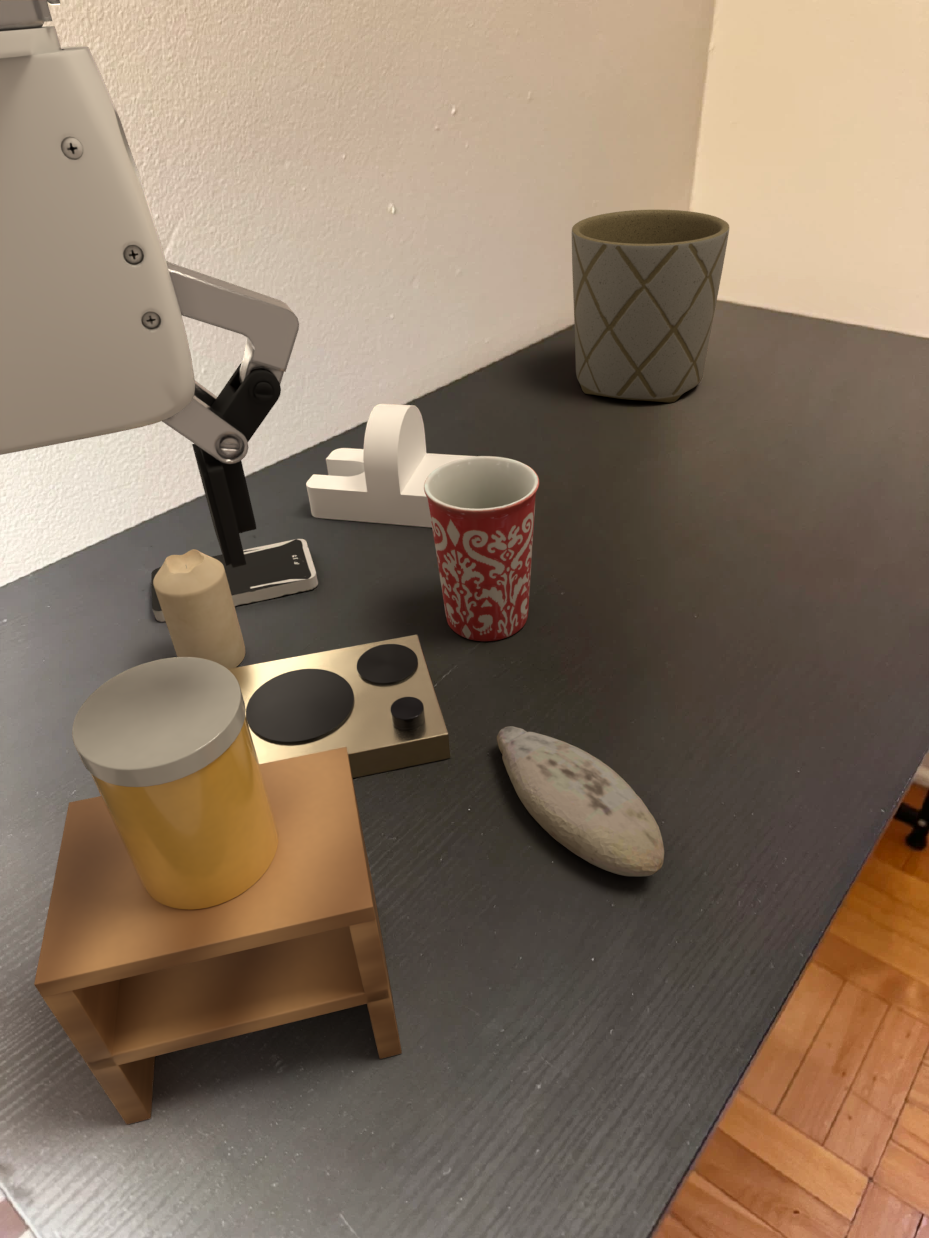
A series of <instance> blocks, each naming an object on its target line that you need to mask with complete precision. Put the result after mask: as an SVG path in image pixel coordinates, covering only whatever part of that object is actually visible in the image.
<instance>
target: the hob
mask: <svg viewBox="0 0 929 1238" xmlns="http://www.w3.org/2000/svg"><path fill="white" fill-rule="evenodd" d="M228 670H229V671H230V672H231V673H232V674H233V675H234V676H235V677H236V679H237V681H238V683H239V686H240V688H241V692H242V696H243V699H244V703H245V709H246V711H245V715H246V719H247V722H248V726H249V729H250V733H251V736H252V740H253V744H254V747H255V751H256V754H257V758H258V761H259V764H263V763H268V762H273V761H278V760H283V759H288V758H293V757H298V756H303V755H308V754H313V753H318V752H323V751H328V750H333V749H338V748H343V747H347V752H348V757H349V762H350V768H351V773H352V778H353V779H356V778H361V777H367V776H370V775H376V774H379V773H385V772H390V771H394V770H400V769H404V768H409V767H414V766H419V765H424V764H428V763H433V762H437V761H442V760H448V759H451V748H450V747H451V746H450V736H449V731H448V729H447V728H448V727H447V724H446V721H445V718H444V715H443V711H442V709H441V706H440V702H439V698H438V696H437V692H436V690H435V686H434V683H433V679H432V677H431V673H430V670H429V667H428V664H427V661H426V656H425V654H424V651H423V647H422V645H421V641H420V638H419V635H418V634H412V635H406V636H401V637H396V638H389V639H385V640H379V641H374V642H368V643H363V644H357V645H352V646H346V647H341V648H334V649H330V650H324V651H319V652H313V653H307V654H302V655H298V656H297V655H296V656H292V657H285V658H280V659H275V660H269V661H264V662H258V663H253V664H248V665H242V666H237V667H236V668H231V669H228Z"/></svg>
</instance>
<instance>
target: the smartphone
mask: <svg viewBox="0 0 929 1238" xmlns="http://www.w3.org/2000/svg"><path fill="white" fill-rule="evenodd" d="M243 552H244V556H245V560H246V565H243V566H239V567H235V568H232V565H227V566H226V564H225V561H224V558H223V555H222V554H217V555H213V556H211V557H212V558H215V559H217V560H218V561H220V562H221V563H222V564H223V566H224V569H225V573H226V577H227V580H228V584H229V588H230V592H231V595H232V599H233V603H234V607H239V606H243V605H247V604H252V603H257V602H260V601H261V602H262V601H266V600H269V599H274V598H280V597H284V596H288V595H289V596H290V595H292V594H297V593H303V592H307V591H312V590H314V589H316V588H317V587H318V585H319V580H318V576H317V571H316V567H315V564H314V562H313V561H314V560H313V558H312V554H311V551H310V548H309V546H308V543H307V540H306V539H303V538H295V539H290V540H285V541H281V542H276V543H270V544H266V545H261V546H257V547H256V546H255V547H250V548H247V549H243ZM161 567H162V566H159V567H157V568H155V569H153V570H152V571H151V574H150V576H151V580H150V581H151V582H150V583H151V609H152V612H153V615H154V618H155V619H156V621H157V622H160V623H166V621H165V618H164V615H163V612H162V609H161V606H160V603H159V600H158V597H157V594H156V591H155V588H154V584H153V580H154V577H155V575H156V574H157V572H158V571H159V570H160V568H161Z"/></svg>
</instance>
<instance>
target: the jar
mask: <svg viewBox="0 0 929 1238" xmlns="http://www.w3.org/2000/svg"><path fill="white" fill-rule="evenodd" d="M245 711H246V709H245V703H244V699H243V696H242V692H241V688H240V686H239V683H238V681H237V679H236V677H235V676H234V675H233V674H232V673H231V672H230V671H229V670H228V669H227V668H225V667H224V666H222V665H220V664H218V663H216V662H213V661H210V660H206V659H202V658H194V657H177V656H176V657H167V658H160V659H156V660H152V661H148V662H145V663H141V664H138V665H136V666H133V667H131V668H129V669H126V670H124V671H123V672H120V673H119V674H117V675H115V676H113V677H111V678H110V679H108V680H107V681H106V682H104V683H103V684H101V685H99V686H98V688H96V689H95V690H94V691H92V693H91V694H90V695H89V696H88V697H87V698H86V699H85V700H84V702H83V703H82V704H81V706H80V707H79V709H78V711H77V713H76V714H75V717H74V719H73V723H72V730H71V737H72V742H73V745H74V747H75V749H76V752H77V754H78V756H79V759H80V761H81V762H82V765H83V766H84V767H85V769H86V770H87V771H88V772H89V773H90V776H91V777H92V779H93V782H94V784H95V786H96V788H97V791H98V793H99V796H101V797H102V799H103V801H104V804H105V806H106V808H107V810H108V812H109V815H110V817H111V819H112V821H113V823H114V825H115V828H116V830H117V832H118V834H119V836H120V838H121V841H122V843H123V845H124V847H125V849H126V851H127V854H128V856H129V858H130V860H131V862H132V864H133V867H134V869H135V871H136V873H137V875H138V877H139V880H140V882H141V884H142V886H143V888H144V889H145V891H146V892H147V893H148V894H149V895H150V896H151V897H152V898H153V899H155V900H156V901H157V902H159V903H161V904H163V905H166V906H169V907H172V908H177V909H185V910H194V909H203V908H209V907H213V906H216V905H219V904H222V903H225V902H227V901H229V900H231V899H233V898H235V897H237V896H239V895H240V894H242V893H244V892H245V891H246V890H248V889H249V888H250V887H252V886H253V885H254V884H255V883H256V882H257V881H258V880H259V879H260V878H261V877H262V876H263V875H264V873H265V872H266V871H267V869H268V868H269V866H270V865H271V863H272V861H273V859H274V856H275V853H276V850H277V846H278V828H277V825H276V821H275V818H274V814H273V810H272V807H271V803H270V800H269V796H268V793H267V789H266V786H265V782H264V779H263V775H262V772H261V768H260V765H259V761H258V758H257V754H256V751H255V747H254V744H253V740H252V736H251V733H250V729H249V726H248V722H247V719H246V715H245Z"/></svg>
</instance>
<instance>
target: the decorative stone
mask: <svg viewBox="0 0 929 1238" xmlns="http://www.w3.org/2000/svg"><path fill="white" fill-rule="evenodd" d="M496 743H497V746H498V749H499V751H500V753H501V754H502V757H501V758H502V762H503V764H504V767H505V770H506V773H507V775H508V776H509V779H510V782H511V784H512V786H513V788H514V791H515V793H516V795H517V796H518V798H519V800H520V802H521V803H522V805H523V806H524V808H525V810H527V812H528V813H529V815H530V816H531V817H532V818H533V819H534V820H535V821H536V823H538V825H540V827H541V828H542V829H543V830H544V831H546V832H547V834H549V836H551V838H553V839H554V840H555V841H556V842H558V843H559V844H560V845H562V846H563V847H565V848H566V849H567V850H568V851H570V852H571V853H573V854H574V855H576V856H577V857H579V858H581V859H583V860H584V861H585V862H587V863H589V864H591V865H593V866H595V867H597V868H600V869H601V870H604V871H607V872H609V873H612V874H615V875H619V876H624V877H649V876H652V875H654V874H656V873H657V872H659V870H660V871H661V869H662V867H663V865H664V859H665V847H664V842H663V836H662V833H661V830H660V827H659V825H658V823H657V821H656V819H655V817H654V815H653V814H652V813H651V812H650V810H649V809H648V807H647V805H646V804H645V802H644V801H643V800H642V798H640V796H639V795H638V794H636V792H635V790H634V789H633V787H631V785H630V784H628V782H626V781H625V780H624V778H622V776H620V775H619V774H618V773H617V772H616V771H615V770H614V769H613V768H611V767H610V766H609V765H608V764H606V763H604V761H602V760H601V759H599V758H598V757H595V756H594V755H593V754H591V753H588V752H587V751H586V750H583V749H581V748H580V747H577V746H575V745H572V744H570V743H568V742H566V741H563V740H560V739H557V738H555V737H551V736H549V735H545V734H542V733H537V732H535V731H527V730H525V729H523V728H521V727H517V726H513V725H511V726H510V725H508V726H505V727H503V728H501V729H500V730H499V731H498V733H497V735H496Z"/></svg>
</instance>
